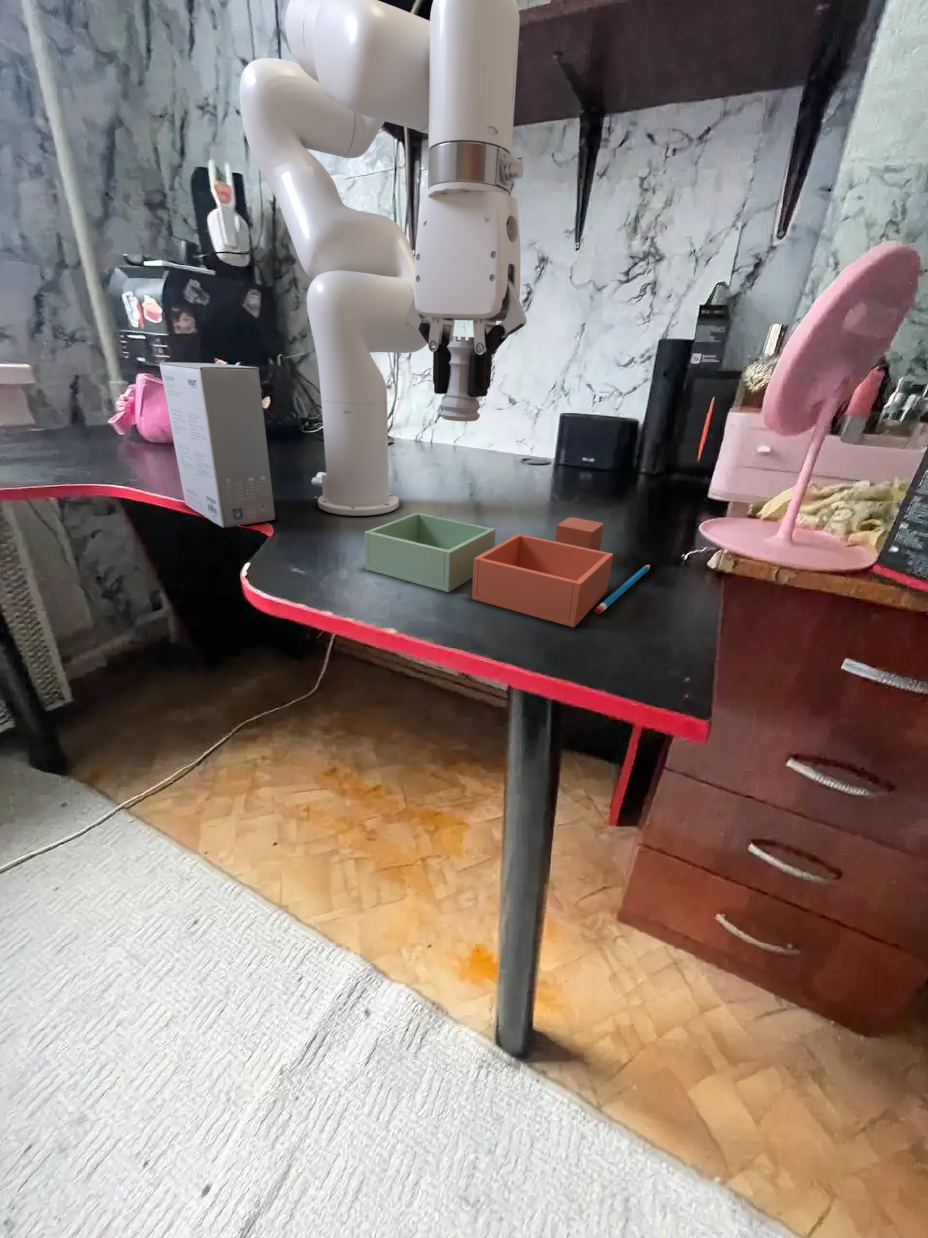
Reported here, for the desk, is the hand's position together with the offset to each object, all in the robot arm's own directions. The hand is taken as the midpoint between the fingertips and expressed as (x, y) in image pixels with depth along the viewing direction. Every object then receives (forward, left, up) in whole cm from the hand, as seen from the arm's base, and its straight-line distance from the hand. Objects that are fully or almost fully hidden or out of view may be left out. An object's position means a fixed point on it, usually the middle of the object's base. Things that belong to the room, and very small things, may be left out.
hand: (460, 392), depth 59 cm
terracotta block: (+12, +9, -19) cm, 24 cm away
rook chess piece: (0, 0, -3) cm, 3 cm away
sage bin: (-1, -4, -19) cm, 19 cm away
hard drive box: (-37, -4, -19) cm, 42 cm away
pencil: (+20, +4, -19) cm, 28 cm away
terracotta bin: (+13, -4, -19) cm, 23 cm away
